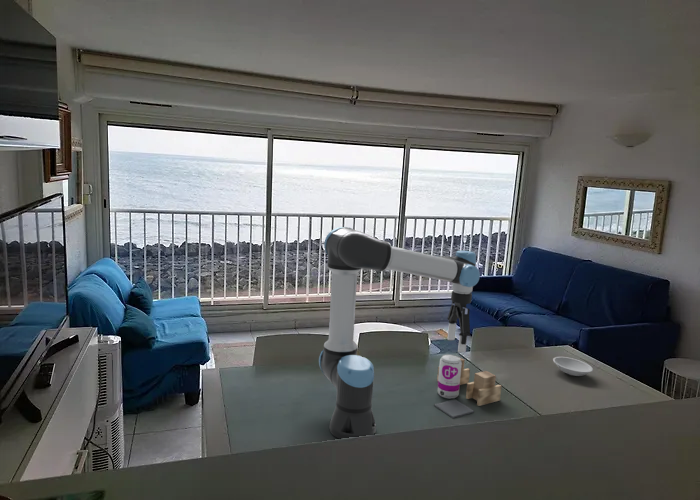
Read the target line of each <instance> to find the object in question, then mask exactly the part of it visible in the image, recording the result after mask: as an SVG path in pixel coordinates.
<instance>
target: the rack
mask: <svg viewBox="0 0 700 500" xmlns="http://www.w3.org/2000/svg"><path fill="white" fill-rule="evenodd" d="M458 357H459V358H460V360H461V362H462V365H461V376H460V386H462V385H465V384H466V393H465V399H466V400H469V399H473V400H475V401H476V402H477V403H476V406H477V407H478V406H481V407H482V406H484V405H488V404H491V403H494V402H495V403H496V402H498V401H501V396H502V395H501V392H502V385H501V384H496V380H497V379H496V378H497V376H496V375H495V374H494V373H491V372H490V371H487V370H482V371H479V372H474V377H473V378H474V379H473V381H471V382H470V373H471V369H470V368H469V367H468V368H465V359H463V358H461V357H460V356H458ZM436 374H437V376H436V377H437V378H436V382H438V378H439V366H438V367H437V373H436Z"/></svg>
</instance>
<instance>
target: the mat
mask: <svg viewBox="0 0 700 500" xmlns="http://www.w3.org/2000/svg"><path fill="white" fill-rule="evenodd" d="M433 406H434V407H435V408H437V409H439V410H440V411H441V412H442V413H444V414H446V416H449V417H451V419H454V418H460V417H463V416H466V415H469V414H474V413H475V411H474V410H473V409H471V408H470V407H468V406H467V405H465V404H463V402H460V401H459V400H457V399H455V398H453V399H450V400H446V401H443V402H440V403H439V402H438V403H434V404H433Z"/></svg>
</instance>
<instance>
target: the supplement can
mask: <svg viewBox="0 0 700 500" xmlns="http://www.w3.org/2000/svg"><path fill="white" fill-rule="evenodd" d="M459 357H460V356H458V355H455V354H442V356H441V358H440V359H439V366H438V367H439V378H438V381H437V394H438V395H439V396H440V397H442V398H444V399H450V400H454V399H455V398H457V397H458V396H459V395H460V386H461V385H460V376H461V365H462V362H461V360H460V358H461V357H460V358H459Z"/></svg>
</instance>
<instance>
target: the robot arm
mask: <svg viewBox="0 0 700 500" xmlns="http://www.w3.org/2000/svg"><path fill="white" fill-rule="evenodd" d="M323 245H324V251H325V253H326V255H327V268H328V270H330V272H331V281H330V282H331V284H330V302H329V303H330V304H329V306H330V307H329V324H328V325H329V326H328V328H329V329H328V339H327V340H326V341H325V342H324V344H323V349H322V351H321V352H320V354H319V357H318V365H319V369H320V370H321V373H322V374H323V375H324V377H326V378H327V379H328V381H329V382H330V384H332V386H334V388H335V389H336V397H335V398H336V399H335V407H334V410H333V413H332V415H331V418H330V419H329V420H330V421H329V432H330V433H331V435H332V436H333V437H334V438H337V439H339V440H341V439H340V438H349V437H359V436H366V435H373V434H374V433H375V434H376V430H377V428H376V427H377V425H376V420H375V417H374V412H373V394H374V393H373V391H374V379H375V371H374V370H375V367H374V364H373V363H372V362H371V361H370V359H368V358H366V357H365V356H363V357H362V356H361V355H358V344H357V343H356V342H355V341H354V338H355V337H354V334H355V319H356V315H355V314H356V304H357V303H356V302H357V299H356V298H357V283H358V274H359V272H361V270H369V271H376V272H384V271H386V270H389V271H394V272H400V273H404V274H409V275H412V276H414V275H415V276H418V277H419V276H420V277H424V278H429V279H434V280H437V281H444V282H449V283H452V285H451V290H452V291H451V296H450V297H451V298H450V299H451V304H450V309H449V311H448V315H447V318H446V319H447V321H448V329H447V340H448V341H455V338H456V329H457V328H456V327H457V324H458V321H459V330H460V333H458V336H459V339H458V344H457V345H458V347H457V353H466V351H467V343H468V342H467V341H468V336H469V337H470V336H471V322H470V308H468V307H467V305H468V304H471V303H472V297H473V294H472V292H473V288H474V287H475V286H476V285H477V284H478V283H479V281H480V277H481V275H480V274H481V272H480V269H479V268H478V267H476V266H477V254H476V253H475V252H474V251H472V250H461V249H460V250H457V251H455V255H454V256H450V255H449V256H445V255H443V256H441V255H432V254H428V253H423V252H419V251H415V250H412V249H411V250H410V249H406V248H402V247H397V246H392V245H391V243H390V242H389V241H386V240H381V239H378V238H377V237H373V236H372V235H370V234H367V233H366V232H363V231H359V230H356V229H354V228H351V227H346V226H338V227H336V228H333V229H332V230H331V231H329V232H328V234H327V235H326V237H325V239H324V244H323ZM457 320H458V321H457ZM375 434H374V435H375Z"/></svg>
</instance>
